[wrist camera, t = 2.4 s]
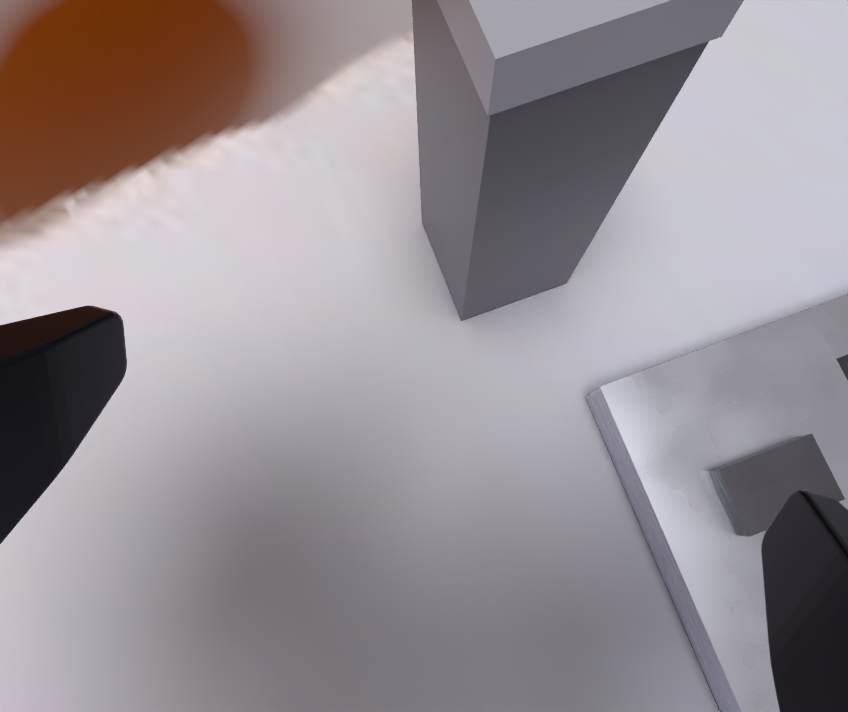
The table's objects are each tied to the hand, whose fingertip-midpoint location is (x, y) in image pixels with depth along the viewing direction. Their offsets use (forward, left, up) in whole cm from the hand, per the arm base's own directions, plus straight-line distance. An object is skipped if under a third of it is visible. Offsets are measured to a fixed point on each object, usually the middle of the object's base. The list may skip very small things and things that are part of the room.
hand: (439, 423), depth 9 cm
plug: (+5, +7, -14) cm, 16 cm away
